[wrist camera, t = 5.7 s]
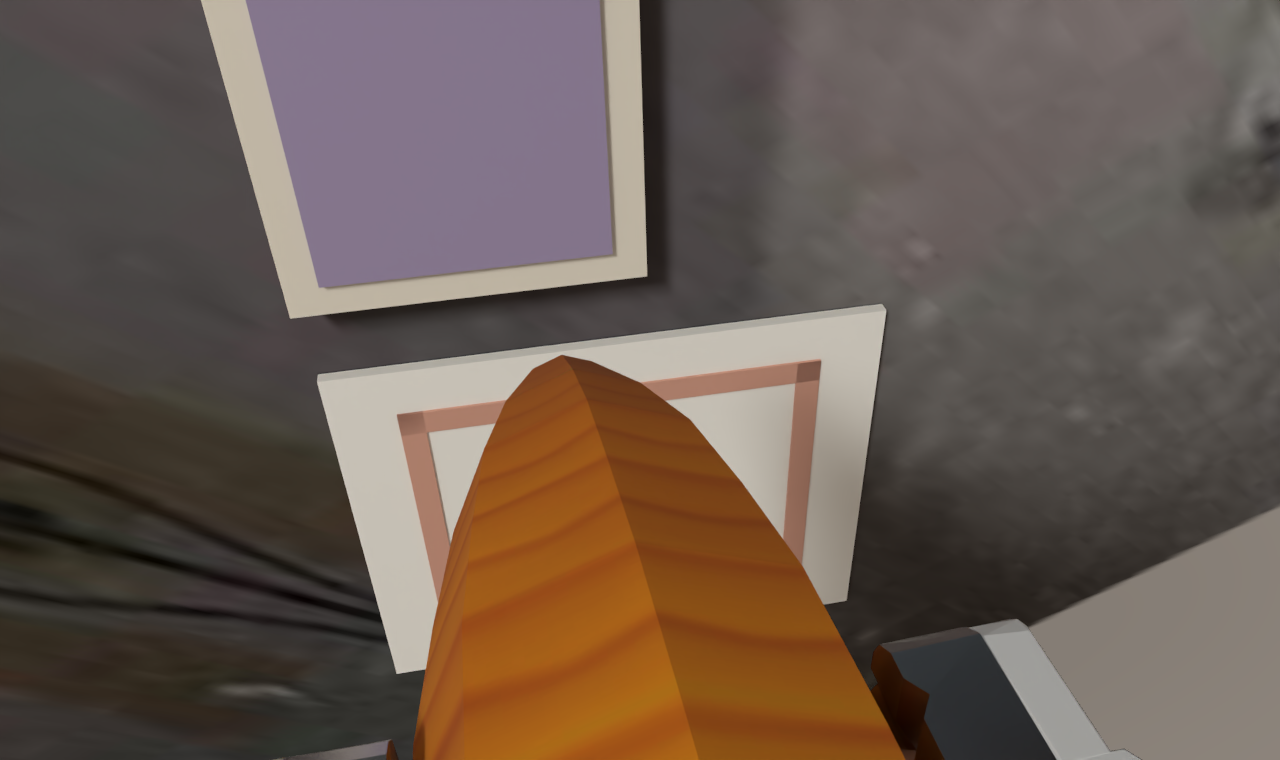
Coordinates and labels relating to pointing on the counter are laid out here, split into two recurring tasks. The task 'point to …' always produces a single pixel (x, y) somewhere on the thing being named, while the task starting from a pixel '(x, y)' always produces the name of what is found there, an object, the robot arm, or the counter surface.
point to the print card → (667, 365)
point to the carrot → (628, 599)
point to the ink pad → (438, 144)
